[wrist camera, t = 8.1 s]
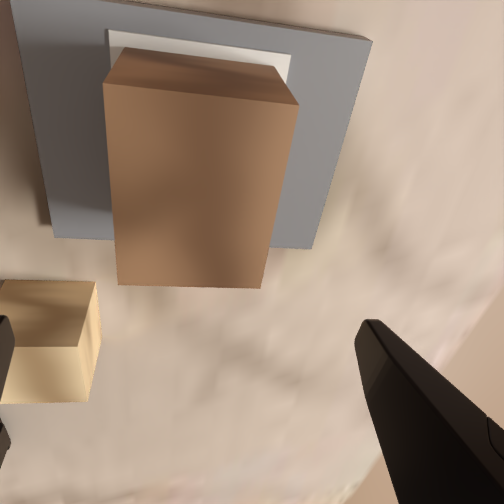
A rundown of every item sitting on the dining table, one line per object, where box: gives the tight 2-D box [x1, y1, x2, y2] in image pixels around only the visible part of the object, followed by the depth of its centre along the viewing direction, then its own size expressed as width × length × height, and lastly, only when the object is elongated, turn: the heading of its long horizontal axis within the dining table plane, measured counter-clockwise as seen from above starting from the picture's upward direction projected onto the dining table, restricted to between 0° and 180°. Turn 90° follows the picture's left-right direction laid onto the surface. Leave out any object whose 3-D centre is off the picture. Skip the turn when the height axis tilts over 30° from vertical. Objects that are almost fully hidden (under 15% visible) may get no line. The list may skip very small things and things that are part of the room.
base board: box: [10, 0, 373, 249], centre depth 19 cm, size 14×11×1 cm
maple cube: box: [0, 280, 102, 404], centre depth 23 cm, size 5×5×5 cm
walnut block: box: [103, 47, 300, 289], centre depth 17 cm, size 6×8×5 cm
